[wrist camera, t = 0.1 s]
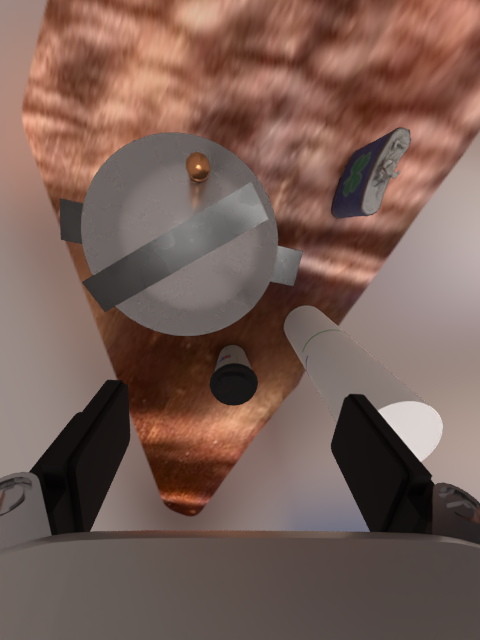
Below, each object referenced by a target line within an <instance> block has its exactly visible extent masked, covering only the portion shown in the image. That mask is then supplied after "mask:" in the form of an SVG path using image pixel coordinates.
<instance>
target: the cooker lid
mask: <svg viewBox="0 0 480 640" xmlns="http://www.w3.org/2000/svg"><path fill="white" fill-rule="evenodd" d="M81 236H82V245H83V249H84V253H85V258H86V260H87V263H88V266H89V268H90V271H91V273H92V275H93V276H91V277H90V278H88V279H86V280H85V281H83V282H82V283H83V284H84V285H85V287H86V288H87V289H88V291H89V292H90V293H91V295H92V296H93V297H94V298H95V300H96V301H97V302H98V304H99V305H100V306H101V307H102V309H103V310H104V311H105V312H106V311H108V310H109V309H111V308H113V307H115V306H116V307H117V308H118V309H119V310H120V311H121V312H123V313H124V314H125V315H127V316H128V317H129V318H131V319H132V320H134V321H136V322H137V323H139V324H141V325H143V326H145V327H147V328H150V329H152V330H155V331H158V332H162V333H166V334H171V335H180V336H194V335H202V334H208V333H211V332H215V331H218V330H221V329H223V328H225V327H227V326H229V325H231V324H233V323H234V322H236V321H238V320H239V319H240V318H242V317H243V316H244V315H245V314H247V313H248V312H249V311H250V310H251V309H252V308H253V307H254V306H255V305H256V303H257V302H258V301H259V299H260V298H261V297H262V295H263V294H264V292H265V290H266V288H267V287H268V285H269V282H270V280H271V277H272V275H273V272H274V268H275V264H276V259H277V252H278V232H277V224H276V219H275V215H274V211H273V208H272V205H271V203H270V200H269V197H268V195H267V194H266V192H265V190H264V188H263V186H262V184H261V183H260V181H259V180H258V179H257V177H256V176H255V174H254V173H253V172H252V171H251V170H250V168H249V167H248V166H247V165H246V164H245V163H244V162H243V161H242V160H241V159H239V158H238V157H237V156H236V155H235V154H233V153H232V152H231V151H229V150H227V149H226V148H224V147H223V146H221V145H219V144H217V143H215V142H213V141H211V140H208V139H206V138H203V137H199V136H196V135H192V134H185V133H159V134H154V135H148V136H146V137H143V138H140V139H137V140H134V141H133V142H131V143H129V144H127V145H125V146H123V147H122V148H121V149H119V150H118V151H117V152H115V153H114V154H113V155H111V156H110V158H109V159H108V160H107V161H106V162H105V163H104V164H103V165H102V166H101V168H100V169H99V171H98V172H97V173H96V175H95V176H94V178H93V180H92V182H91V184H90V186H89V188H88V191H87V194H86V197H85V200H84V204H83V210H82V216H81Z"/></svg>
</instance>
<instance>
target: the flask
mask: <svg viewBox="0 0 480 640" xmlns="http://www.w3.org/2000/svg"><path fill="white" fill-rule="evenodd" d="M410 142H411V138H410V130H408V129H406V128H397V129H395V130H393V131H392V132H390V133H388V134H387V135H385V136H383V137H381V138H379V139H378V140H376V141H374V142H372V143H370V144H368V145H366V146H365V147H363V148H361V149H359V150H357V151H355V152H354V153H353V155H352V156H351V157H350V159H349V160H348V163H347V164H346V166H345V169H344V170H343V172H342V174H341V177H340V179H339V183H338V186H337V189H336V192H335V196H334V198H333V202H332V210H331V211H332V214H333V216H335V217H336V218H345V217H354V216H369V215H373V214H374V213H376V212H377V211H378V209H379V207H380V206H381V202H382V198H383V195H384V192H385V189H386V187H387V184H388V182H389V180H390V178H392V179H395V178H396V177H397V175H398V174H400V170H399V171H398V172H397V173H395V172H394V169H395V168H396V167H397V166H396V165H397V163H398V161H399V160H400V158H401V157H402V156H403V154H404V153H405V152H406V150H407V149H408V147H409V145H410Z"/></svg>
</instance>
